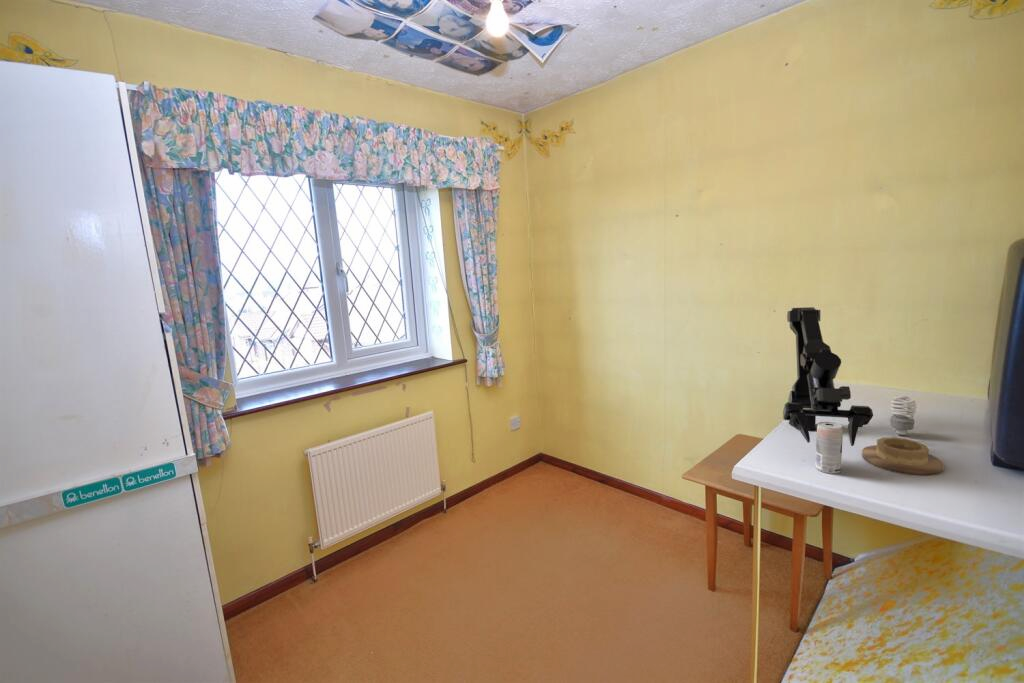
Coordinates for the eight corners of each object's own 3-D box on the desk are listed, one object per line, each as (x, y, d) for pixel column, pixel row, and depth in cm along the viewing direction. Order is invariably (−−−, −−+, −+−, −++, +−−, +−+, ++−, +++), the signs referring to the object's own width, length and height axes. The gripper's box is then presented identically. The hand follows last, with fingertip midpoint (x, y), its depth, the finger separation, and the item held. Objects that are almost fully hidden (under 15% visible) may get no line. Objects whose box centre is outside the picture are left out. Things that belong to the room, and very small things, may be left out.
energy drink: (839, 467, 114) (841, 422, 113) (842, 475, 110) (844, 429, 108) (814, 463, 117) (816, 420, 115) (816, 472, 113) (818, 427, 111)
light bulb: (887, 436, 131) (890, 397, 129) (889, 430, 135) (892, 392, 133) (913, 440, 127) (916, 400, 125) (914, 434, 131) (917, 395, 129)
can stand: (847, 450, 124) (848, 434, 123) (908, 448, 122) (909, 431, 122) (892, 476, 108) (893, 458, 107) (962, 474, 107) (964, 456, 106)
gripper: (785, 373, 117) (791, 426, 109) (872, 375, 110) (886, 433, 102) (780, 393, 126) (785, 445, 118) (861, 397, 118) (872, 452, 110)
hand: (830, 443), depth 111 cm, fingers open, 9 cm apart
